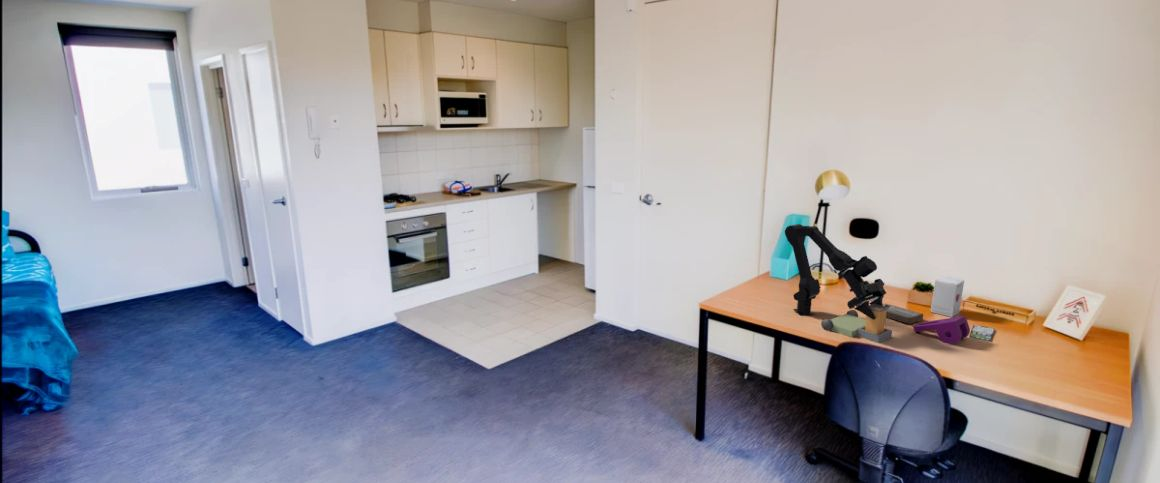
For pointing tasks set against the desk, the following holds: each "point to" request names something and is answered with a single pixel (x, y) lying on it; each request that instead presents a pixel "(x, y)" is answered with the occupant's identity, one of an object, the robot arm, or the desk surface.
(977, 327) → the mottled grey green block
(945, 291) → the supplement box
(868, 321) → the tan rectangular column
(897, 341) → the desk surface
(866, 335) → the green slab with frame
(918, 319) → the box
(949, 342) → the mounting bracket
